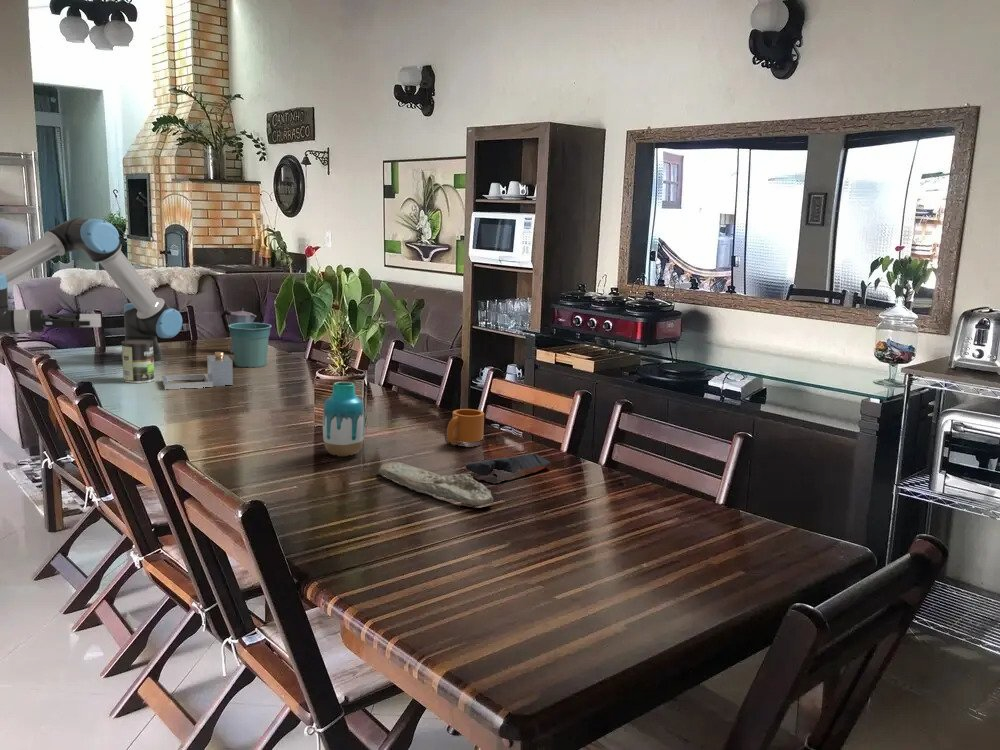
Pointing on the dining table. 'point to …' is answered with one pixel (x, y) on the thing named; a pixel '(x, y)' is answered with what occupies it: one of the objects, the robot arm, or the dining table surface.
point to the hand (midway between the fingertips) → (101, 320)
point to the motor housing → (217, 374)
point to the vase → (343, 421)
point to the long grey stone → (439, 483)
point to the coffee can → (138, 361)
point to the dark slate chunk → (507, 464)
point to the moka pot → (237, 320)
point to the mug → (466, 426)
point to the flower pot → (250, 343)
